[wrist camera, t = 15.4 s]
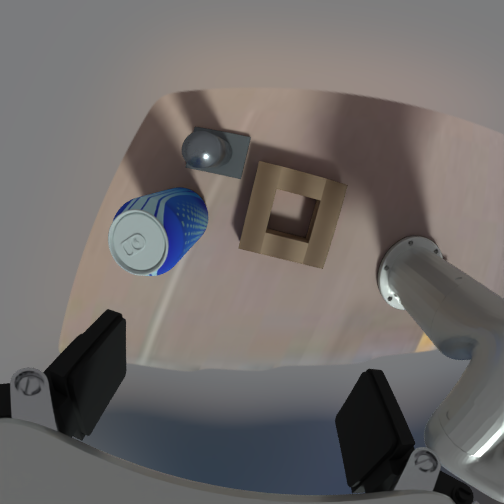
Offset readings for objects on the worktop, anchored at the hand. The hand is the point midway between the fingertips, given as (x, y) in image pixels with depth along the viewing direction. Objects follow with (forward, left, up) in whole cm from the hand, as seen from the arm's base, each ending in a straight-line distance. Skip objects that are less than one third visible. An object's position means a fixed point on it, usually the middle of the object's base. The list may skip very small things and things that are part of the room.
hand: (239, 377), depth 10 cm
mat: (+8, -8, -32) cm, 34 cm away
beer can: (+11, +2, -32) cm, 34 cm away
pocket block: (-4, -2, -32) cm, 33 cm away
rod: (+8, -8, -32) cm, 34 cm away
